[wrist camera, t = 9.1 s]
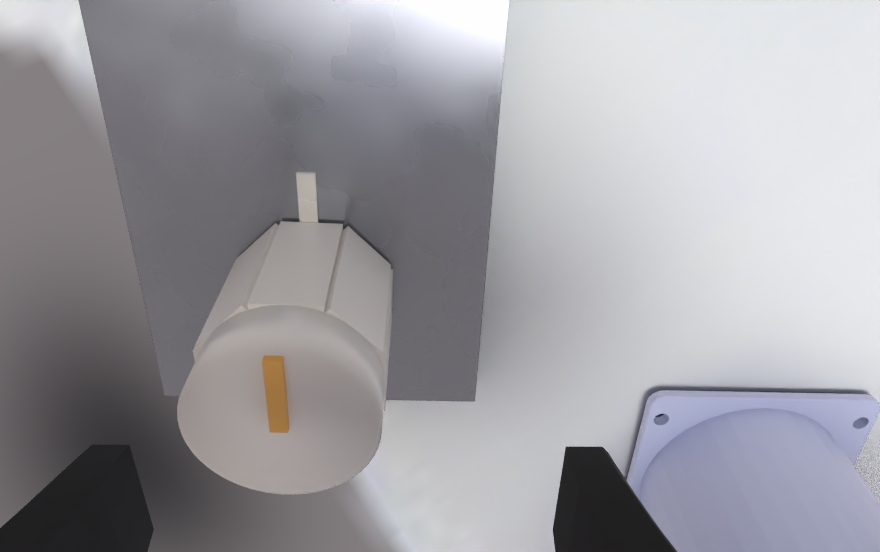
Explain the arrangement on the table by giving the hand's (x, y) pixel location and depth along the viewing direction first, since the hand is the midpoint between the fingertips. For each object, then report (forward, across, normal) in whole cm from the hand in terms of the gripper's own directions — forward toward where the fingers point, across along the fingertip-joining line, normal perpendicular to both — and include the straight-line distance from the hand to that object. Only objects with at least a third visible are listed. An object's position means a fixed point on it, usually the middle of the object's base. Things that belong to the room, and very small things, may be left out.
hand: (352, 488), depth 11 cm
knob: (+9, +2, +2) cm, 9 cm away
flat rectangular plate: (+10, +2, -2) cm, 10 cm away
